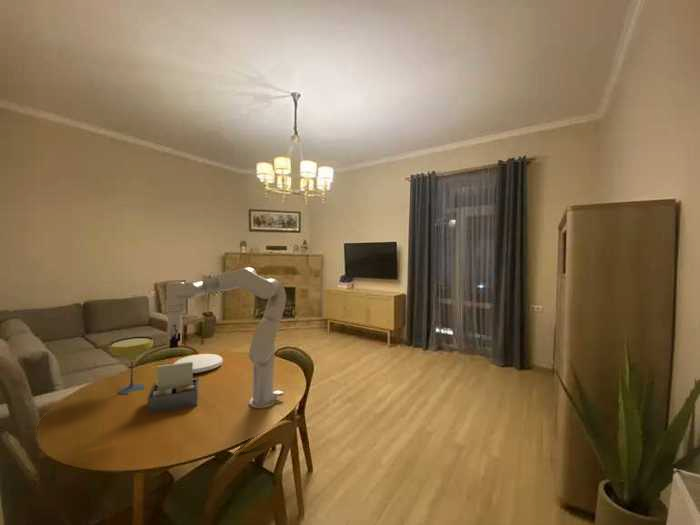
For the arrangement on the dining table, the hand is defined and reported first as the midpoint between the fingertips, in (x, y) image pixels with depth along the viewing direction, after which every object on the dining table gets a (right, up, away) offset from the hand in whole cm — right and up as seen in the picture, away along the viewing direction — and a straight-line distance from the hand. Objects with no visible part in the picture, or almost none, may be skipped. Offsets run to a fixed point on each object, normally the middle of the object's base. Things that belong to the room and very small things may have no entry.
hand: (175, 344), depth 134 cm
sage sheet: (0, -27, +1) cm, 27 cm away
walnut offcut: (+6, -28, -1) cm, 28 cm away
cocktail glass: (-31, -28, +14) cm, 44 cm away
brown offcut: (-3, -28, -5) cm, 28 cm away
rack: (0, -28, +1) cm, 28 cm away
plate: (-12, -27, +44) cm, 53 cm away
